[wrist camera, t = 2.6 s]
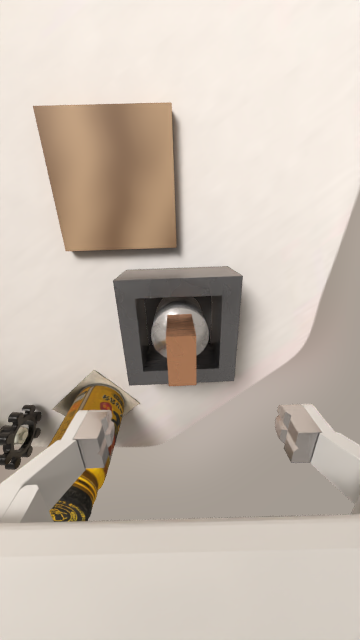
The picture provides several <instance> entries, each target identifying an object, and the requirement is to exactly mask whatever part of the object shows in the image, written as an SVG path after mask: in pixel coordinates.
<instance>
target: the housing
mask: <svg viewBox="0 0 360 640" xmlns="http://www.w3.org/2000/svg"><path fill="white" fill-rule="evenodd" d="M242 279H243V276H242V275H241V274H239V273H237V272H236V271H234V270H233V269H231V268H229V267H228V266H222V267H194V268H166V269H138V270H126V271H125V272H123V273H122V274H121V275H119V276H118V277H117V278H116V279H114V280H113V283H114V290H115V297H116V303H117V310H118V316H119V323H120V329H121V336H122V342H123V349H124V355H125V362H126V368H127V375H128V382H129V385H151V384H169V381H168V366H167V358H166V357H164V356H163V355H161V354H160V353H159V352H158V351H157V350H156V349H155V347H154V345H149V338H148V328H147V318H146V308H145V298H166V297H192V296H212V302H211V338H210V343H207V345H206V347H205V348H204V350H203V351H202V352H201V353H200V354H198V355H197V356H196V383H197V382H220V381H234V376H235V363H236V351H237V339H238V327H239V315H240V303H241V291H242Z"/></svg>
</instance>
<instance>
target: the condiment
mask: <svg viewBox="0 0 360 640" xmlns="http://www.w3.org/2000/svg"><path fill="white" fill-rule="evenodd" d="M138 404H140V403H139V402H137V401H136V400H135V399H133V398H132V397H131V396H129V395H128V394H127V393H126V392H124V391H123V390H122V389H120V388H119V387H117V386H116V385H115V384H113V383H112V382H110V381H109V380H107V379H106V378H104V377H103V376H101V375H100V374H99V373H97V372H96V371H95V370H93V371H92V372H91V373H90V374H89V375H88V376H87V377H86V378H85V379H84V380H83V381H82V382H80V383H79V384H78V385H77V386H76V387H75V388H74V389H73V390H72V391H71V392H70V393H69V394H68V395H67V396H66V397H65V398H64V399H63V400H61V401H60V402H59V403H58V404H57V405H56V406H55V407H54V408H53V410H55V411H56V412H59V413H61V414H62V415H64V416H66V417H65V418H64V420H63V422H62V424H61V425H60V427H59V429H58V431H57V432H56V434H55V436H54V438H53V439H52V441H51V443H50V444H49V446H51V445H52V444H53V443H55V442H56V441H57V440H61V439H62V437H63V435H64V434H65V432H66V430H67V428H68V427H69V425H70V423H71V421H72V420H73V418H74V416H75V414H76V413H77V412H78V411H79V410H111V412H112V418H111V421H112V422H113V423H114V428H115V432H114V439H113V442H112V444H111V445H110V446H109V447H108V451H109V455H108V458H107V461H106V464H105V467H104V468H89V469H85V471H84V472H83V473H82V474H81V475H80V477H79V478H78V479H77V480H76V481H75V482H74V483H73V485H72V486H71V487H70V488H69V489H68V490H67V491H66V492H65V494H64V495H63V496H62V497H61V498H60V499H59V500H58V502H57V503H56V504H55V505H54V506H53V507H52V508H51V510H50V511H49V512H50V514H51V516H52V519H53V521H54V522H73V521H88V518H89V517H90V514H91V510H92V507H93V504H94V501H95V499H96V497H97V491H98V490H99V489H100V488H101V486H102V485H103V483H104V480H105V477H106V474H107V470H108V467H109V464H110V460H111V456H112V452H113V448H114V445H115V443H116V438H117V435H118V431H119V427H120V424H121V420H122V417H123V416H124V415H125V414H127V413H128V412H129V411H130V410H132V409H133V408H134V407H135V406H137V405H138ZM49 446H48V447H49Z"/></svg>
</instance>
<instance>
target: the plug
mask: <svg viewBox="0 0 360 640" xmlns="http://www.w3.org/2000/svg"><path fill="white" fill-rule="evenodd" d="M151 339H152V343H153V345H154V347H155V349H156V350H157V351H158V352H159V353H160V354H161V355H163V356H164V357H166V358H167V366H168V381H169V386H186V385H196V356H197V355H198V354H200V353H201V352H202V351H203V350H204V348H205V347H206V345H207V343H208V339H209V329H208V326H207V323H206V320H205V318H204V315H203V312H202V309H201V307H200V305H199V303H198V301H197V300H196V299H195V298H194V297H166V298H163V299H162V300H161V301H160V302H159V304H158V306H157V309H156V313H155V317H154V322H153V326H152V331H151Z"/></svg>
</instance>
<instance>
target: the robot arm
mask: <svg viewBox="0 0 360 640" xmlns="http://www.w3.org/2000/svg"><path fill="white" fill-rule="evenodd" d="M277 412H278V414H279V415H278V416H277V418H276V419H275V428H276V432H277V435H278V437H279V439H280V440H281V441H282V442H283V443H285V446H284V449H285V451H286V453H287V455H288V457H289V459H290V461H291V463H311V464H312V466H314V467H315V468H316V469H317V470H318V471H319V472H320V473H321V474H322V475H323V476H324V477H326V478H327V479H328V480H329V481H330V482H331V483H332V484H333V485H334V486H335V487H337V488H338V489H339V490H340V491H341V492H342V493H343V494H344V495H345V496H346V497H347V498H348V499H350V500H351V501H352V502H353V503H354V504H355V506H354V508H353V510H352V512H351V514H343V515H307V516H306V515H304V516H266V517H229V518H228V517H227V518H189V519H153V520H114V521H73V522H54V521H53V519H52V516H51V514H50V512H49V511H50V510H51V508H52V507H53V506H54V505H55V504H56V503H57V502H58V500H59V499H60V498H61V497H62V496H63V495H64V494H65V492H66V491H67V490H68V489H69V488H70V487H71V486H72V485H73V483H74V482H75V481H76V480H77V479H78V478H79V477H80V475H81V474H82V473H83V472H84V471H85V469H89V468H104V467H105V464H106V461H107V458H108V455H109V451H108V447H109V446H110V445H111V444H112V442H113V439H114V432H115V428H114V423H113V422H112V421H111V418H112V412H111V410H79V411H78V412H77V413H76V414H75V416H74V418H73V420H72V421H71V423H70V425H69V427H68V428H67V430H66V432H65V434H64V435H63V437H62V439H61V440H57V441H56V442H55V443H53V444H52V445H51V446H49V447H48V448H47V449H46V450H44V451H43V452H41V453H40V454H39V455H38V456H36V457H35V458H33V459H32V460H31V461H29V462H28V463H27V464H26V465H24V466H23V467H22V468H20V469H19V470H18V471H16V472H15V473H14V474H12V475H11V476H10V477H8V478H7V479H6V480H4V481H3V482H2V483H0V640H360V445H358V444H357V443H355V442H354V441H352V440H350V439H349V438H347V437H345V436H344V435H342V434H340V433H339V432H334V430H333V429H332V428H331V426H330V425H329V424H328V423H327V422H326V420H325V419H324V418H323V417H322V416H321V414H320V413H319V412H318V410H317V409H316V408H315V407H314V405H312V404H292V405H279V406H278V409H277Z"/></svg>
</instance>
